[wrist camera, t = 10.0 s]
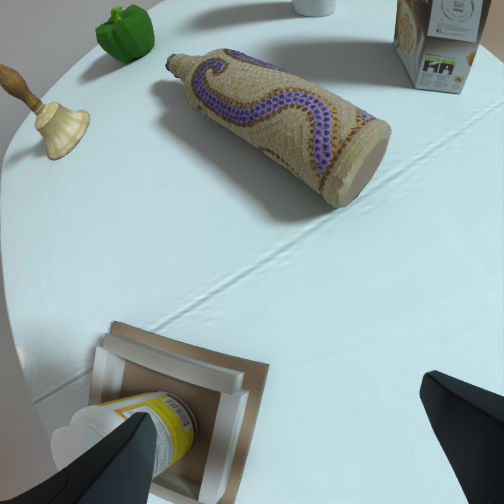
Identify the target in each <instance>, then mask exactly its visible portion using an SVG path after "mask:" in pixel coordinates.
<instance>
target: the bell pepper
mask: <svg viewBox="0 0 504 504" xmlns="http://www.w3.org/2000/svg"><path fill="white" fill-rule="evenodd" d="M111 15H112V16H111V17H110V18H109V20H108V22H106V23H104V24H101V25H100V26H99V27H98V28H96V36H97V42H98V43H99V45H100V46H101V47H102V48H103V50H105V51H106V52H107V53H109V54H110V55H111V56H113V57H114V58H116V59H117V60H119V61H123V62H128V61H131V60H132V59H133V58H138V57H141V56H144V55H145V54H146V53H148V52H149V51H150V50H151V49H152V48H153V47H154V42H155V36H154V31H153V26H152V22H151V19H150V17H149V15H148V13H147V12H146V11H145V10H143V9H142V8H140V7H138V6H136V5H131V6H129V7H128V8H127V9H126V10H124V11H122V7H120V6H116V7H114V8H113V9H112V10H111Z"/></svg>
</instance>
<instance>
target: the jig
mask: <svg viewBox="0 0 504 504" xmlns="http://www.w3.org/2000/svg"><path fill="white" fill-rule="evenodd" d="M268 368H269V364H265V363H261V362H256V361H252V360H247V359H243V358H239V357H235V356H231V355H227V354H223V353H219V352H215V351H212V350H208V349H204V348H201V347H197V346H193V345H190V344H187V343H183V342H180V341H176V340H173V339H170V338H167V337H164V336H160V335H157V334H154V333H151V332H148V331H145V330H142V329H139V328H136V327H133V326H130V325H128V324H125V323H122V322H117V321H113V326H112V331H111V334H106V333H105V336H104V342H103V346H97V347H96V353H95V359H94V366H93V372H92V380H91V387H90V396H89V405H88V406H91V405H96V404H101V403H106V402H110V401H115V400H119V399H123V398H127V397H132V396H135V395H140V394H143V393H147V392H151V391H163V392H167V393H170V394H173V395H175V396H176V397H178V398H179V399H181V400H182V401H183V402H184V403H185V404H186V405H187V406H188V407H189V409H190V410H191V412H192V413H193V415H194V417H195V420H196V424H197V438H196V442H195V444H194V446H193V447H192V448H191V450H190V451H189V452H188V453H187V454H185V455H184V456H183V457H181V458H180V459H179V460H177V461H176V462H175V463H174V464H172V465H171V466H170V467H168V468H167V469H166V470H164V471H163V472H162V473H160V474H159V475H158V476H156V477H155V478H153V479H152V481H151V486H150V490H149V492H150V493H152V494H154V495H156V496H158V497H160V498H163V499H165V500H167V501H169V502H172V503H174V504H234V503H235V499H236V496H237V492H238V489H239V485H240V481H241V478H242V474H243V470H244V467H245V463H246V459H247V455H248V451H249V448H250V444H251V440H252V436H253V432H254V428H255V424H256V420H257V416H258V411H259V407H260V403H261V399H262V395H263V390H264V386H265V382H266V377H267V373H268Z"/></svg>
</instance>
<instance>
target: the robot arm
mask: <svg viewBox="0 0 504 504" xmlns="http://www.w3.org/2000/svg"><path fill="white" fill-rule="evenodd" d="M420 398H421V401H422V403H423V406H424V408H425V411H426V413H427V416H428V418H429V421H430V424H431V426H432V429H433V431H434V433H435V435H436V437H437V439H438V441H439V443H440V445H441V447H442V449H443V450H444V452H445V454H446V456H447V458H448V460H449V462H450V464H451V466H452V469H453V471H454V473H455V475H456V477H457V479H458V481H459V483H460V485H461V487H462V490H463V492H464V494H465V496H466V498H467V501H468V503H469V504H504V396H501V395H498V394H496V393H493V392H490V391H488V390H485V389H482V388H480V387H477V386H474V385H472V384H469V383H467V382H464V381H462V380H459V379H456V378H454V377H451V376H449V375H446V374H444V373H441V372H439V371H436V370H433V371H430V372H427V373H425V374H424V376H423V379H422V384H421V388H420ZM156 442H157V429H156V427H155V424H154V422H153V420H152V418H151V416H150V414H149V413H148V412H139V411H138V412H135V413H134V414H133V415H131V416H130V417H129V418H128V419H126V420H125V421H124V422H123V423H121V424H120V425H119V426H118V427H117V428H115V429H114V430H113V431H111V432H110V433H109V434H108V435H106V436H105V437H104V438H103V439H101V440H100V441H99V442H97V443H96V444H95V445H94V446H92V447H91V448H90V449H88V450H87V451H86V452H85V453H83V454H82V455H81V456H79V457H78V458H77V459H75V460H74V461H73V462H71V463H70V464H69V465H67V467H64V468H63V469H62V470H60V471H59V472H58V473H56V474H55V475H53V476H52V477H51V478H49V479H47V480H46V481H44V482H42V483H41V484H39V485H37V486H35V487H33V488H32V489H30V490H28V491H26V492H24V493H22V494H20V495H18V496H17V497H15V498H12V499H10V500H6V501H0V504H147V499H148V495H149V490H150V486H151V481H152V476H153V471H154V462H155V452H156Z"/></svg>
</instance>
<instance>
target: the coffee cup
mask: <svg viewBox="0 0 504 504" xmlns="http://www.w3.org/2000/svg"><path fill="white" fill-rule="evenodd" d="M292 2H293V6H294V9H295V11H296V12H297V13H298V14H300V15H304V16H309V17H322V16H327V15H330V14H332V13H334V12H335V4H336V0H292Z"/></svg>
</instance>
